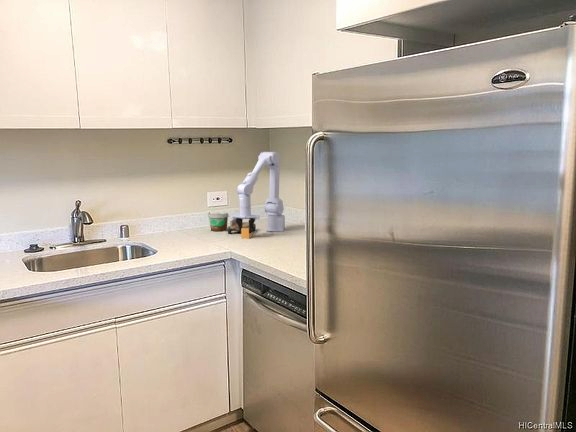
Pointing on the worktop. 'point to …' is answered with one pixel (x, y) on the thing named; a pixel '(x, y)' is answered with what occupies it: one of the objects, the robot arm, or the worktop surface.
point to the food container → (218, 222)
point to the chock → (245, 233)
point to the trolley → (235, 226)
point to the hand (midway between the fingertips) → (245, 232)
